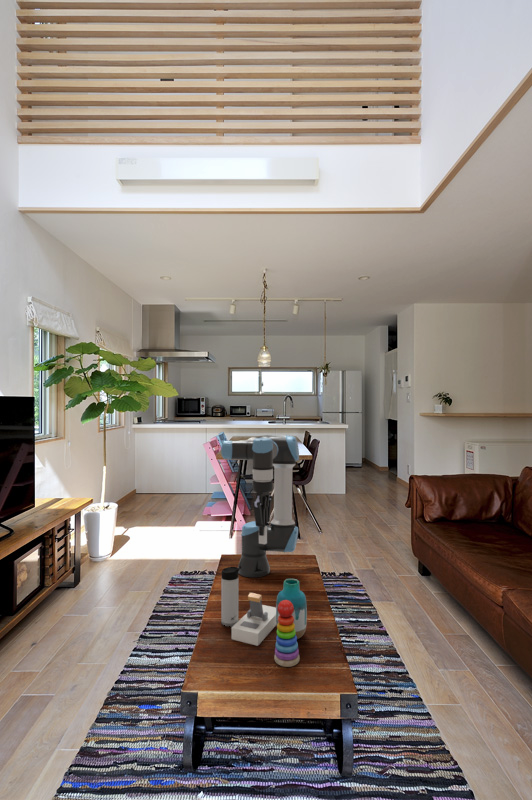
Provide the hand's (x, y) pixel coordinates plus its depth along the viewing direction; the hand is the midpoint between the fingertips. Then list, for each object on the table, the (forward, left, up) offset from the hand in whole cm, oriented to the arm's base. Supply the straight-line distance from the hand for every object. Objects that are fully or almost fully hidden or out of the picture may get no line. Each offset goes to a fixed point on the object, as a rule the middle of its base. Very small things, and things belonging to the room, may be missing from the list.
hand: (262, 543), depth 170 cm
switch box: (+7, +1, -28) cm, 29 cm away
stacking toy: (+21, +18, -29) cm, 40 cm away
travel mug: (+7, -10, -29) cm, 31 cm away
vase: (+7, +14, -29) cm, 33 cm away
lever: (+7, +1, -23) cm, 24 cm away
